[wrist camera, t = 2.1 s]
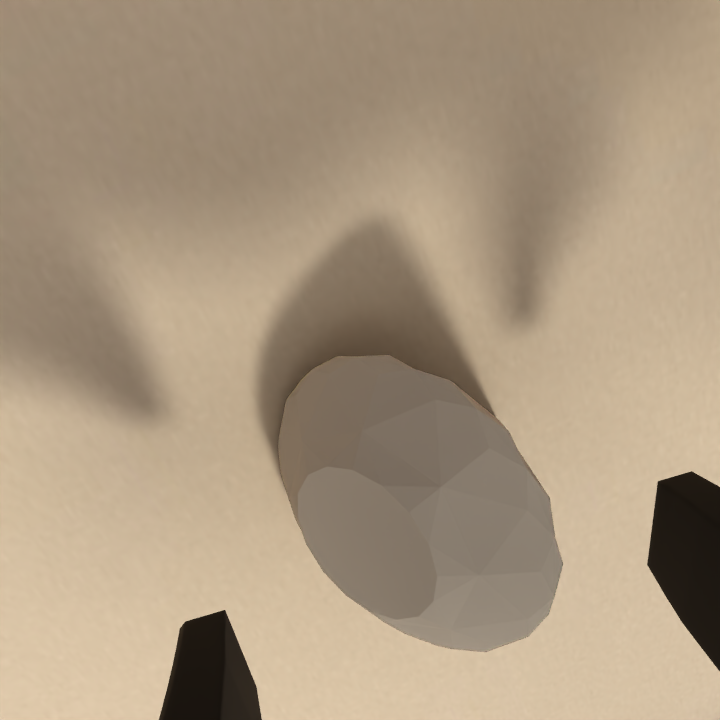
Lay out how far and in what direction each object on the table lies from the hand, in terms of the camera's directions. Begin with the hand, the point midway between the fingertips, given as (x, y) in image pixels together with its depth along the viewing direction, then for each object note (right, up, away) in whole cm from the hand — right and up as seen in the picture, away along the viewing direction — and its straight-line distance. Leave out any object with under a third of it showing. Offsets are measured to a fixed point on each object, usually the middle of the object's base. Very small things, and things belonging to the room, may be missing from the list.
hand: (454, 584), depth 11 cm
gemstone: (-1, +2, +4) cm, 5 cm away
